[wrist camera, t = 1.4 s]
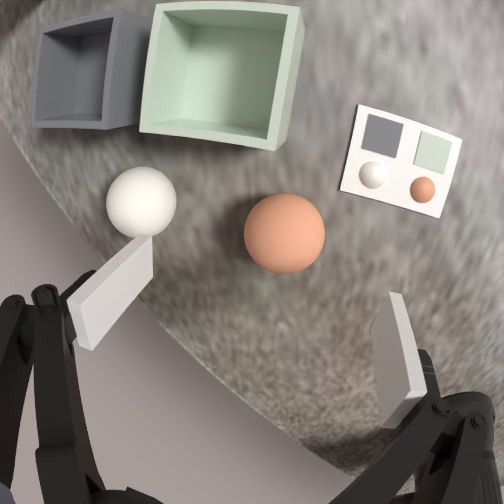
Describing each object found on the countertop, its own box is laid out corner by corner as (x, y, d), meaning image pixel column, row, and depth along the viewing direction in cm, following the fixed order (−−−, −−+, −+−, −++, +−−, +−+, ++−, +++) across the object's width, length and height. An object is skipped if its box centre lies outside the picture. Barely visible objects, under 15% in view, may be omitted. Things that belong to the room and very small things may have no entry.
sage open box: (286, 140, 23) (275, 151, 18) (176, 124, 24) (139, 131, 19) (305, 30, 19) (299, 7, 14) (191, 21, 20) (156, 4, 15)
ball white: (185, 228, 28) (155, 258, 23) (130, 216, 29) (94, 241, 24) (190, 165, 26) (156, 182, 20) (131, 156, 26) (90, 172, 21)
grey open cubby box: (148, 121, 25) (107, 129, 19) (73, 118, 26) (31, 127, 20) (161, 22, 20) (122, 8, 15) (82, 32, 21) (40, 28, 16)
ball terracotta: (315, 259, 27) (312, 298, 22) (248, 243, 28) (230, 278, 23) (332, 193, 24) (334, 219, 19) (259, 177, 25) (241, 198, 20)
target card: (438, 217, 23) (439, 218, 23) (339, 189, 24) (339, 190, 24) (461, 139, 20) (462, 139, 19) (358, 104, 21) (359, 104, 20)
